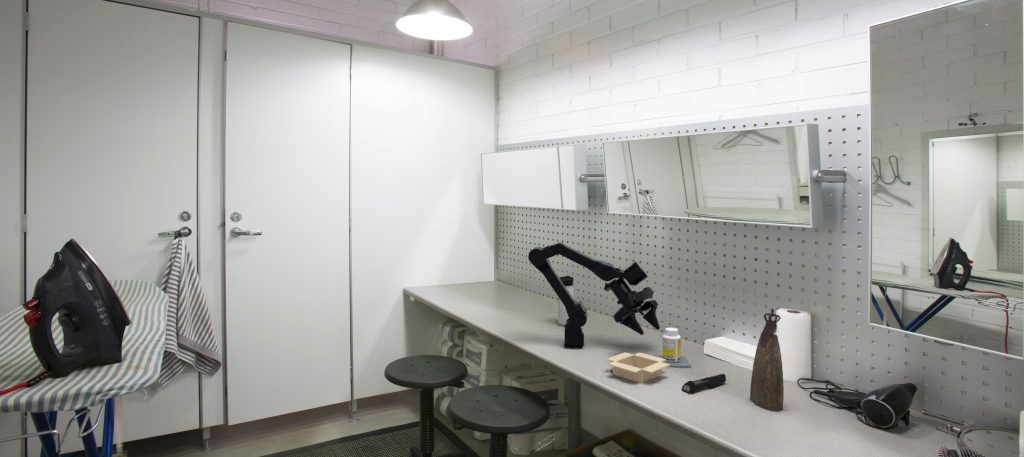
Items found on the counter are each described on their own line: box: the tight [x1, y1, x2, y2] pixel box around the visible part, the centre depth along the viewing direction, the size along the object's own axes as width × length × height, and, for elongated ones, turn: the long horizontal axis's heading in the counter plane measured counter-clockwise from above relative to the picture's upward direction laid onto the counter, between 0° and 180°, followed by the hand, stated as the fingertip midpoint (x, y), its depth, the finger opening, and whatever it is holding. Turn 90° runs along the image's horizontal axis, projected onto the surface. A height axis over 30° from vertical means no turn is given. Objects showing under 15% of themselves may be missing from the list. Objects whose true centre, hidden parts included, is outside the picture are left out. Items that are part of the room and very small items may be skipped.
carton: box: [606, 351, 670, 384], centre depth 159 cm, size 16×16×4 cm
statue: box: [749, 308, 785, 412], centre depth 135 cm, size 9×8×25 cm
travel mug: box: [557, 275, 575, 327], centre depth 218 cm, size 6×7×20 cm
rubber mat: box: [653, 354, 692, 369], centre depth 170 cm, size 10×10×1 cm
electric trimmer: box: [681, 373, 727, 395], centre depth 148 cm, size 4×16×3 cm, turn 118°
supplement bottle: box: [662, 327, 682, 362], centre depth 169 cm, size 6×6×10 cm
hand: (651, 331), depth 175 cm, fingers open, 9 cm apart
